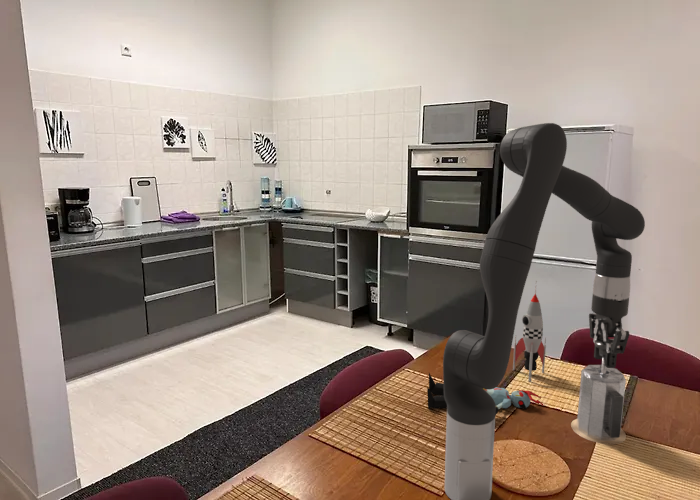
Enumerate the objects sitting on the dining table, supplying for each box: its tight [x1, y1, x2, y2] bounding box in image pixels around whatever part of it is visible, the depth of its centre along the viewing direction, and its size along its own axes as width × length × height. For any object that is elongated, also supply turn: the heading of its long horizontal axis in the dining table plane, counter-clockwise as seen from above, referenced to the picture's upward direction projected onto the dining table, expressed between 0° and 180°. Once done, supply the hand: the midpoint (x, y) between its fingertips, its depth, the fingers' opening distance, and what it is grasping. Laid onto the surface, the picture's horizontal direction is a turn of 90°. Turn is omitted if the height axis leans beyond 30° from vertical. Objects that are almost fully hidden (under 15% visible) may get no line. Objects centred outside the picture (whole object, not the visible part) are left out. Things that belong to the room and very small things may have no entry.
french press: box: [576, 364, 627, 441], centre depth 117 cm, size 12×10×15 cm
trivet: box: [570, 418, 627, 445], centre depth 120 cm, size 12×12×1 cm
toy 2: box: [512, 280, 547, 382], centre depth 149 cm, size 9×8×30 cm
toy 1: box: [426, 372, 545, 415], centre depth 134 cm, size 26×8×30 cm
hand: (604, 362), depth 116 cm, fingers closed on plunger, 4 cm apart
